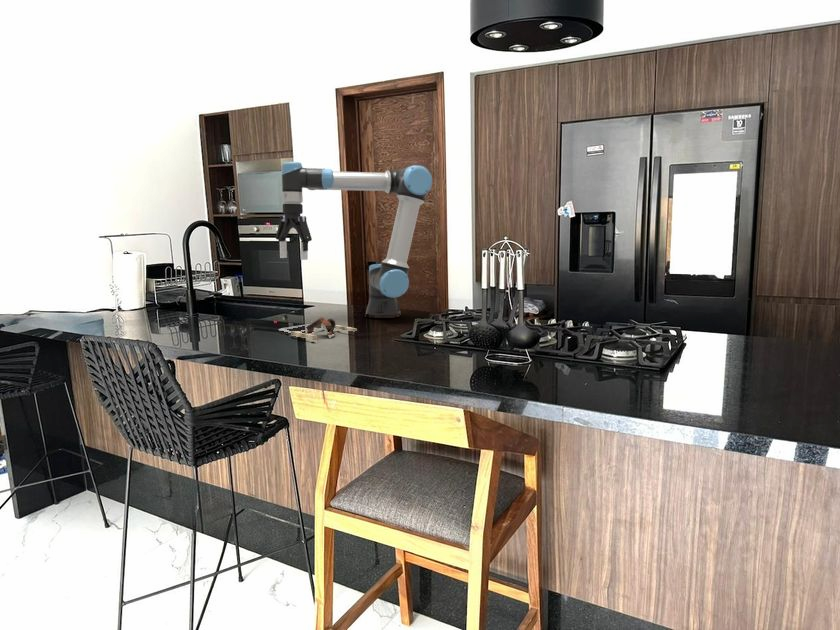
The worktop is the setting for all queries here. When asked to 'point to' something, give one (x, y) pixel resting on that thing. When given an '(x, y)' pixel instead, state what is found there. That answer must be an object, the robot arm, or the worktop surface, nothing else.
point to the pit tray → (294, 327)
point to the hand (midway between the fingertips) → (293, 258)
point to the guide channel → (314, 337)
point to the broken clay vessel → (317, 324)
